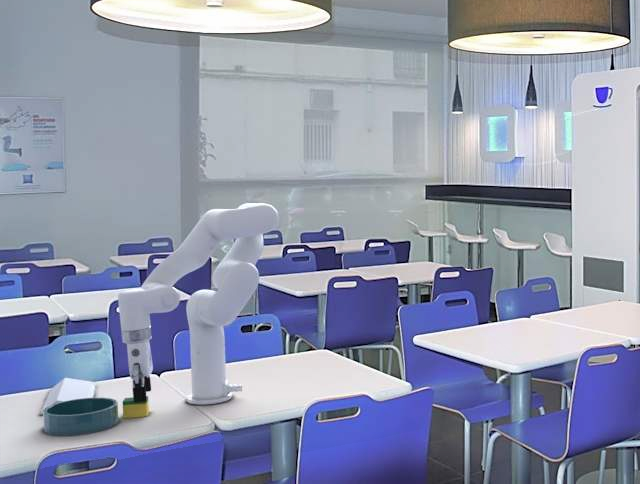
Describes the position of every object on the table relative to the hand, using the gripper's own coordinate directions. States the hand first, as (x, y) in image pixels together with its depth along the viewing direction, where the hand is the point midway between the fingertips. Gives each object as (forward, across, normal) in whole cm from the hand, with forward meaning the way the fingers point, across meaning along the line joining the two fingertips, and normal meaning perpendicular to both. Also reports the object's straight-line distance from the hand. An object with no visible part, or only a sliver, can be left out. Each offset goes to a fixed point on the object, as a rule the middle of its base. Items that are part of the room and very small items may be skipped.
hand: (142, 396), depth 239 cm
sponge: (+4, -2, +2) cm, 5 cm away
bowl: (+4, -7, +15) cm, 17 cm away
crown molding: (+4, +22, +23) cm, 32 cm away
